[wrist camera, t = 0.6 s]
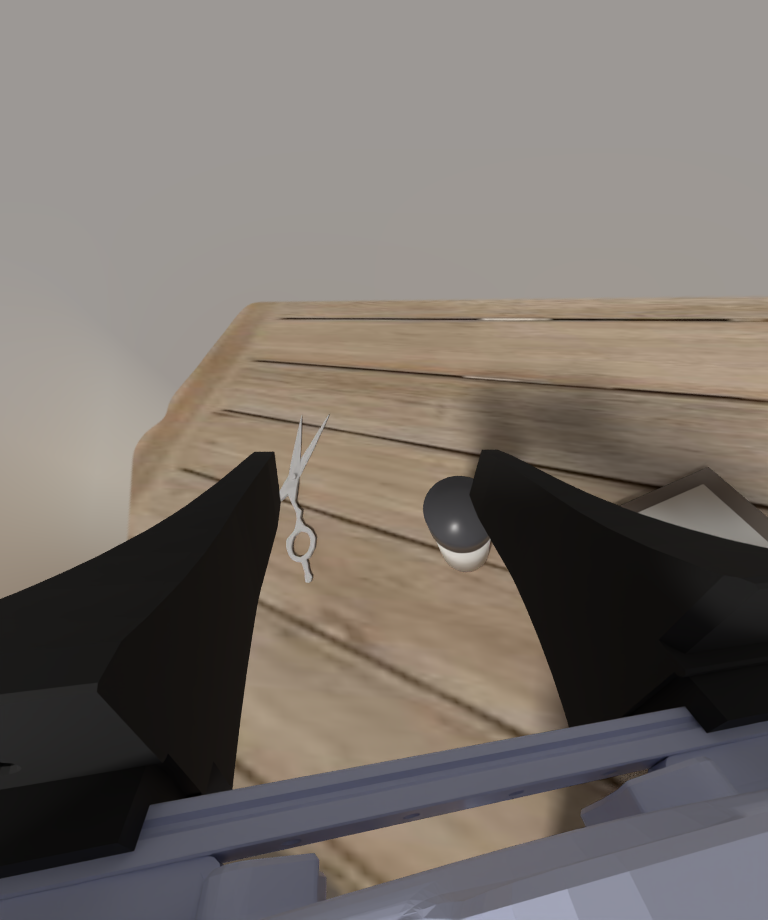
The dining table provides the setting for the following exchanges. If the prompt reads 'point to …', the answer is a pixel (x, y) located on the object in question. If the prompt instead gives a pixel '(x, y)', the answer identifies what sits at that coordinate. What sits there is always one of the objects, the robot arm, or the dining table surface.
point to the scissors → (291, 490)
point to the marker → (456, 524)
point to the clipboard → (705, 508)
